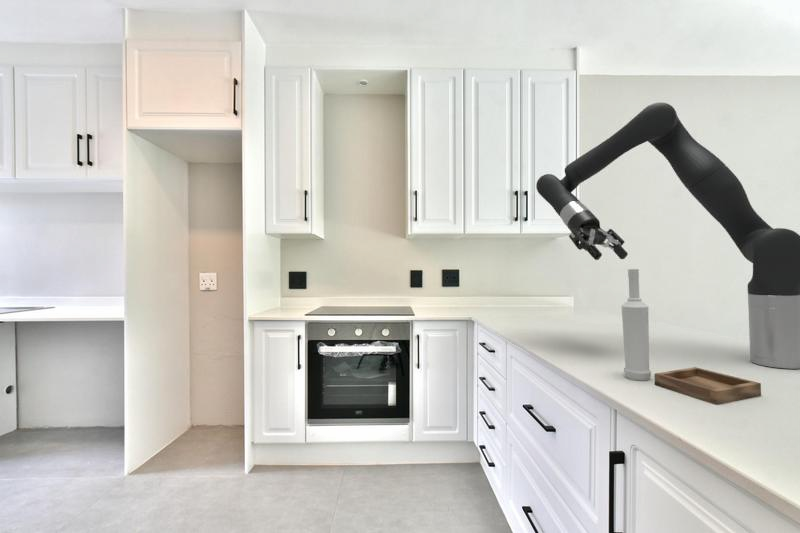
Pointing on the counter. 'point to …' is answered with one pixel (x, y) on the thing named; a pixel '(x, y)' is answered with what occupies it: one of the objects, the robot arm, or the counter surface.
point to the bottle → (635, 332)
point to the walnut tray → (708, 385)
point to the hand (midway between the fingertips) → (612, 257)
